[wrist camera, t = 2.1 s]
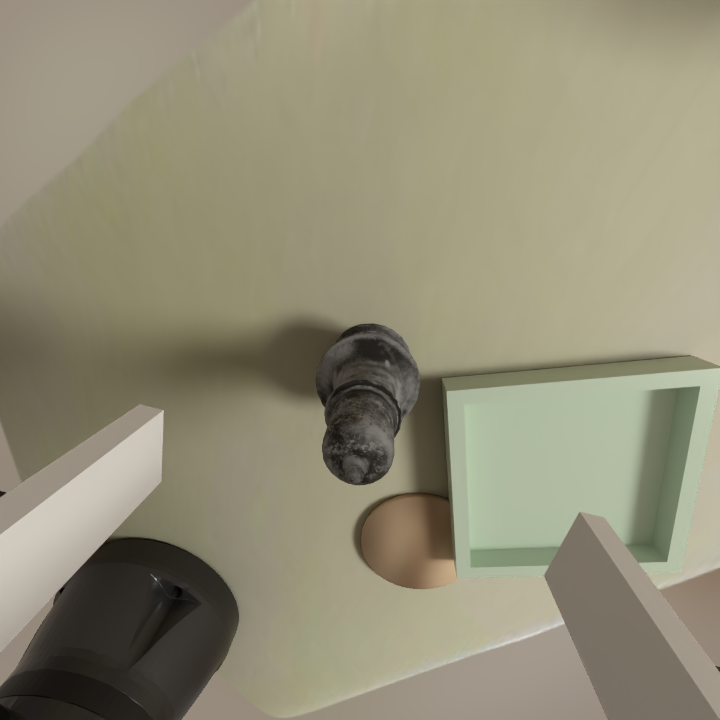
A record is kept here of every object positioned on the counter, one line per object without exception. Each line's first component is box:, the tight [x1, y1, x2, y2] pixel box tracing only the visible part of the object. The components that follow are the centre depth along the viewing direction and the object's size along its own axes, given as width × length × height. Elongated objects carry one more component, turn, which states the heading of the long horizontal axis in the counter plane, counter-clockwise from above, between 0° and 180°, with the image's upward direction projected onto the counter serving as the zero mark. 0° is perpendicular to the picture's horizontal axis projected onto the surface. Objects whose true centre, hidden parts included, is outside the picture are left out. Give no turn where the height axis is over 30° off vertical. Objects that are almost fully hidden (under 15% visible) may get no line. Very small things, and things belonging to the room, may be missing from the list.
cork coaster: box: [361, 493, 459, 589], centre depth 27 cm, size 9×9×1 cm
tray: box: [442, 356, 720, 578], centre depth 24 cm, size 15×15×2 cm
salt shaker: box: [316, 324, 420, 485], centre depth 18 cm, size 6×6×12 cm
